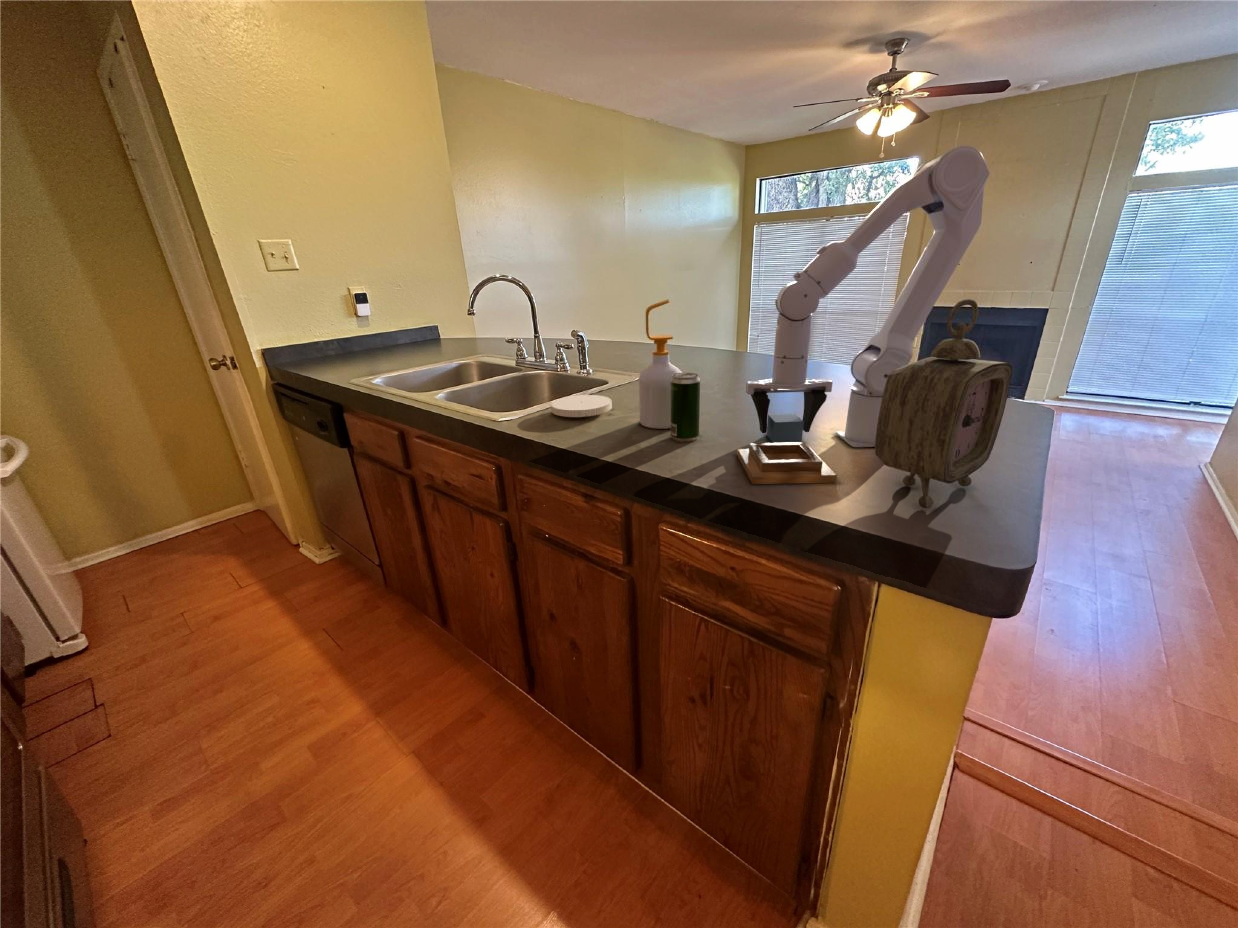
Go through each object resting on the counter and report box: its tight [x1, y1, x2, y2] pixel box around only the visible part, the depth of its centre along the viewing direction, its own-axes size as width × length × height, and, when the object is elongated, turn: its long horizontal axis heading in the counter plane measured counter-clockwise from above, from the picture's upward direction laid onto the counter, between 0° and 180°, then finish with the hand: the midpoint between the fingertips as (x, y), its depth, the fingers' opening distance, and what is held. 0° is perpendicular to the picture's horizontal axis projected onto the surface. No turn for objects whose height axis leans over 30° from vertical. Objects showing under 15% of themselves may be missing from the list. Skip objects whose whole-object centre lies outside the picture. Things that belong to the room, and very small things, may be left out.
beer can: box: [670, 372, 701, 443], centre depth 89 cm, size 5×5×12 cm
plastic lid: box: [550, 394, 613, 418], centre depth 110 cm, size 14×14×2 cm
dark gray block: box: [766, 413, 804, 443], centre depth 87 cm, size 5×5×4 cm
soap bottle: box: [638, 298, 683, 430], centre depth 96 cm, size 9×9×25 cm
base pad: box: [736, 441, 838, 485], centre depth 75 cm, size 12×12×3 cm
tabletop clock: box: [874, 298, 1013, 509], centre depth 61 cm, size 14×9×25 cm, turn 124°
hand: (784, 431), depth 87 cm, fingers open, 7 cm apart
